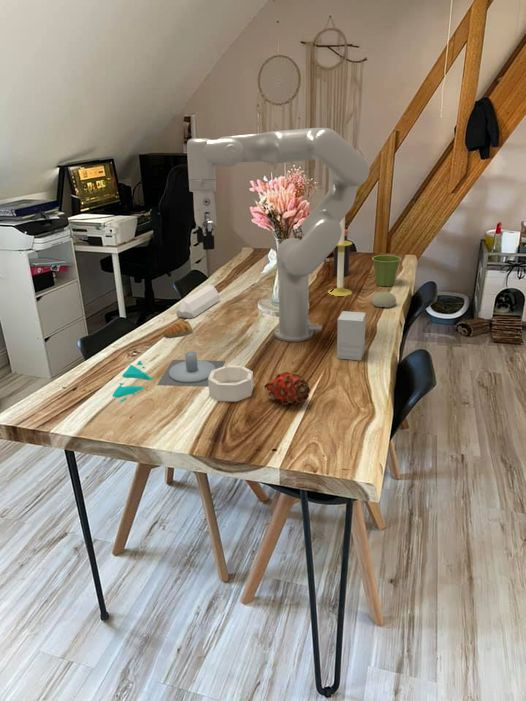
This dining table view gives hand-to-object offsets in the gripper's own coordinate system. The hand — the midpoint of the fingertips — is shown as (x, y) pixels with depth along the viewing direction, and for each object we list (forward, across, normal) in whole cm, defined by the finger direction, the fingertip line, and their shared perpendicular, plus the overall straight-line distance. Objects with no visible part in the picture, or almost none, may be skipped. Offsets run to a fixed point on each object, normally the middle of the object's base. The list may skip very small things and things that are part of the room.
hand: (205, 245), depth 153 cm
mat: (+32, -19, +9) cm, 38 cm away
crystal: (+32, +35, -3) cm, 48 cm away
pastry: (+32, +13, +8) cm, 36 cm away
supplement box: (+31, -23, -38) cm, 54 cm away
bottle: (+30, +56, -71) cm, 96 cm away
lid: (+32, -19, +9) cm, 38 cm away
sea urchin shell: (+30, +14, -69) cm, 77 cm away
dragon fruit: (+32, -43, -11) cm, 55 cm away
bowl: (+32, -33, +1) cm, 46 cm away
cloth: (+33, -19, +25) cm, 46 cm away
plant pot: (+30, +36, -82) cm, 95 cm away
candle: (+31, +33, -60) cm, 75 cm away
